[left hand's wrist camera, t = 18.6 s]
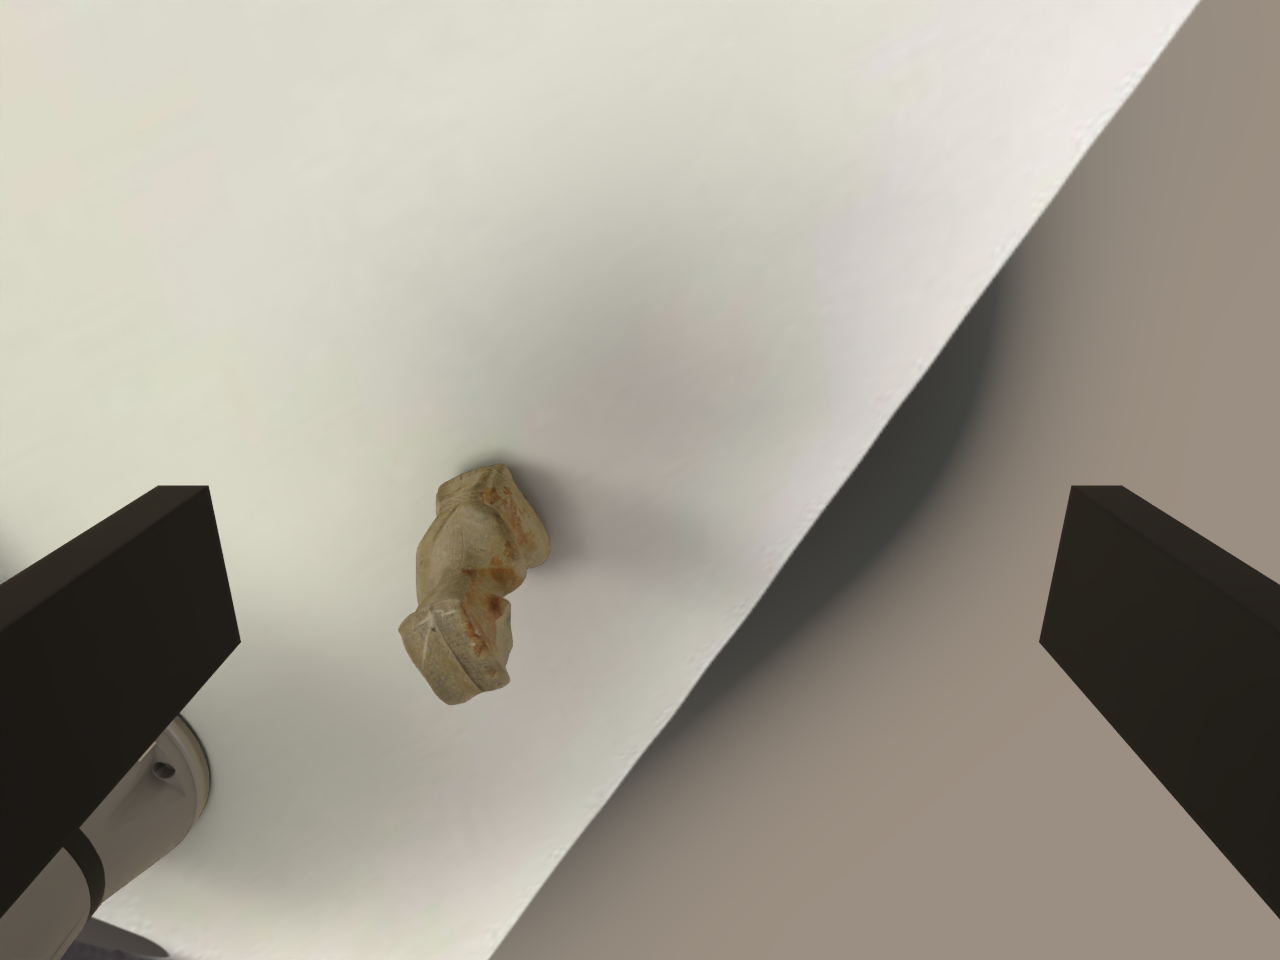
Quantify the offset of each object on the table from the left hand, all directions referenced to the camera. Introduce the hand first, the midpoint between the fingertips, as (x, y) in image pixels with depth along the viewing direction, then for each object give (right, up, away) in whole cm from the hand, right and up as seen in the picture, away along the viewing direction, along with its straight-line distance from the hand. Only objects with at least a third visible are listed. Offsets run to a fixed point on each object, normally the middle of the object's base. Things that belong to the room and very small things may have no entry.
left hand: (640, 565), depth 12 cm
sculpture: (-8, 0, +35) cm, 36 cm away
